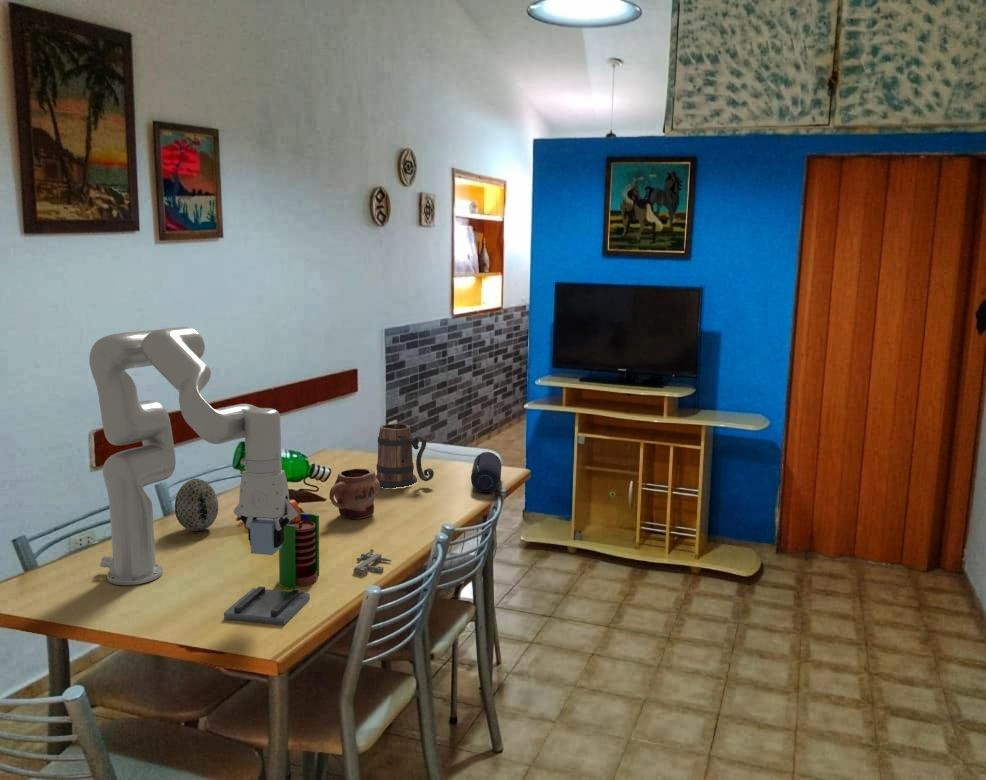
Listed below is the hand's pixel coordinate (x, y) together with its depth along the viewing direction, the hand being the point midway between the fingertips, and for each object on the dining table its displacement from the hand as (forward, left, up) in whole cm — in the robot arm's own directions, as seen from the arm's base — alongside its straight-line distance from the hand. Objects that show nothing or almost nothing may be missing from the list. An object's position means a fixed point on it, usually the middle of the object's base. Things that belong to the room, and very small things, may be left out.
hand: (266, 544), depth 189 cm
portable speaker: (+28, +111, -16) cm, 116 cm away
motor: (0, +17, -16) cm, 23 cm away
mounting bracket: (0, 0, -15) cm, 15 cm away
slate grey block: (0, 0, -1) cm, 1 cm away
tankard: (0, +107, -16) cm, 108 cm away
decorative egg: (-43, +46, -16) cm, 65 cm away
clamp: (+14, +31, -16) cm, 38 cm away
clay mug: (-4, +68, -16) cm, 70 cm away
